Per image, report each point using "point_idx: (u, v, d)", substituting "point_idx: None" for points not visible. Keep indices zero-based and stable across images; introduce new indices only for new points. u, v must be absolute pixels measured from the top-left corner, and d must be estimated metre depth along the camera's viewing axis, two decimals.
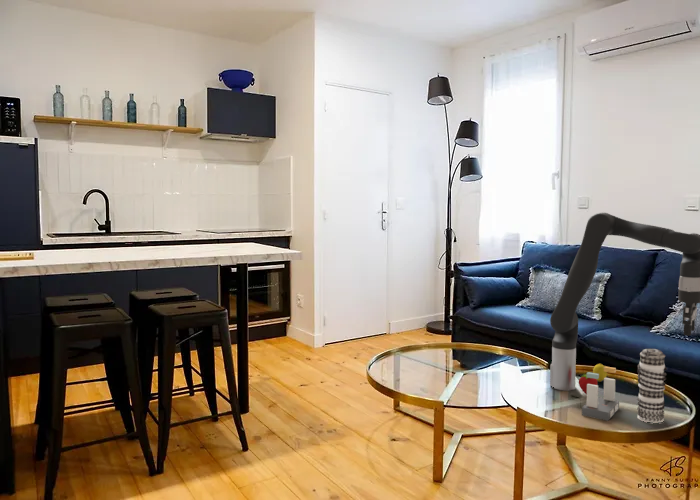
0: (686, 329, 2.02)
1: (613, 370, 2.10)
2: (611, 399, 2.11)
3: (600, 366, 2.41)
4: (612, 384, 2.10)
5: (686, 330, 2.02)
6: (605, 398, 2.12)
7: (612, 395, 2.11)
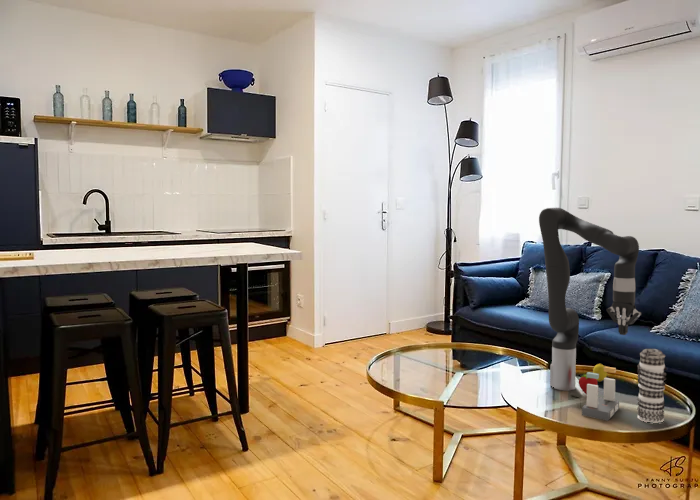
0: (626, 329, 2.13)
1: (613, 370, 2.10)
2: (611, 399, 2.11)
3: (600, 366, 2.41)
4: (612, 384, 2.10)
5: (626, 330, 2.13)
6: (605, 398, 2.12)
7: (612, 395, 2.11)
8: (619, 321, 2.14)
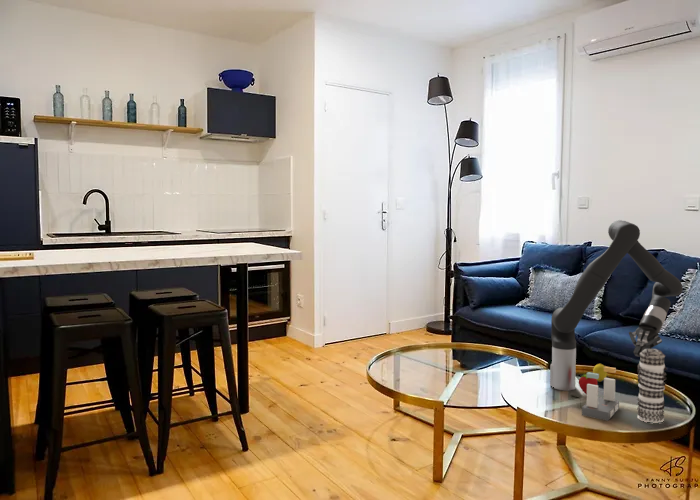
0: (642, 350, 2.20)
1: (613, 370, 2.10)
2: (611, 399, 2.11)
3: (600, 366, 2.41)
4: (612, 384, 2.10)
5: (641, 351, 2.20)
6: (605, 398, 2.12)
7: (612, 395, 2.11)
8: (638, 342, 2.23)
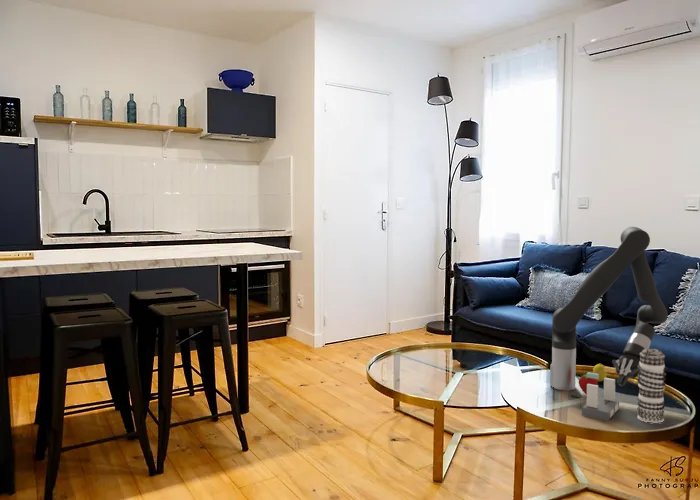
0: (625, 380, 2.14)
1: (613, 370, 2.10)
2: (611, 399, 2.11)
3: (600, 366, 2.41)
4: (612, 384, 2.10)
5: (625, 381, 2.14)
6: (605, 398, 2.12)
7: (612, 395, 2.11)
8: (621, 371, 2.16)
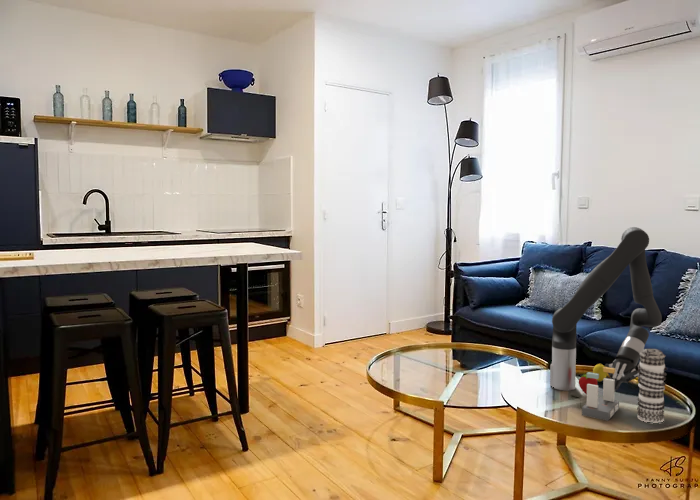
0: (618, 384, 2.11)
1: (613, 370, 2.09)
2: (611, 400, 2.11)
3: (600, 366, 2.41)
4: (612, 384, 2.10)
5: (618, 385, 2.11)
6: (604, 399, 2.12)
7: (612, 396, 2.10)
8: (614, 375, 2.14)
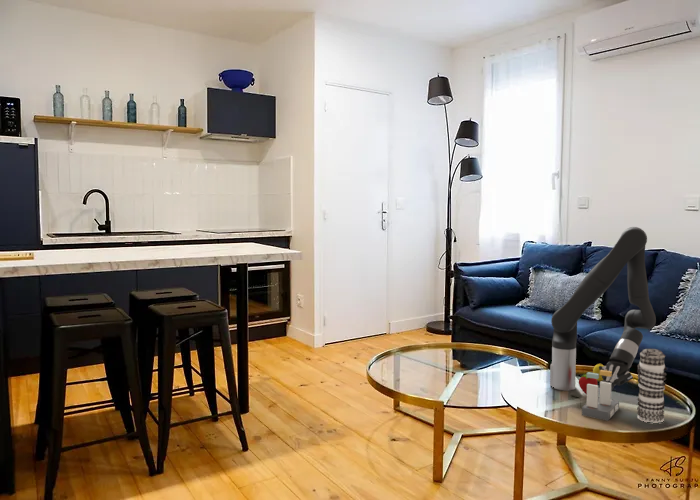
0: (612, 387, 2.09)
1: (609, 374, 2.06)
2: (607, 403, 2.07)
3: None
4: (608, 388, 2.06)
5: (611, 388, 2.09)
6: (601, 402, 2.08)
7: (608, 399, 2.07)
8: (608, 378, 2.11)
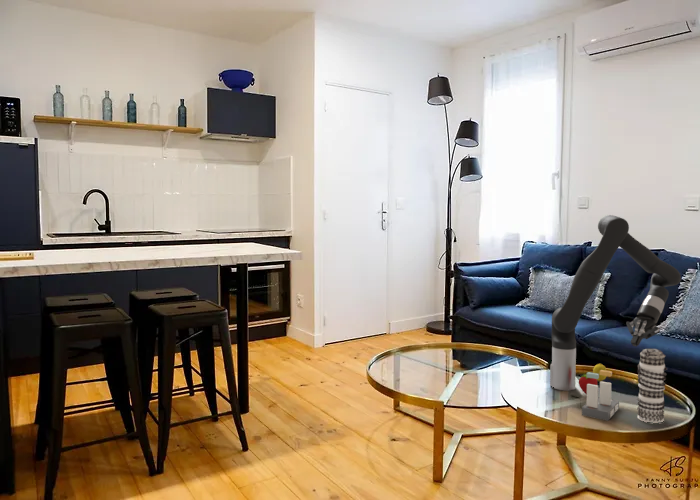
0: (639, 340, 2.18)
1: (609, 374, 2.06)
2: (607, 403, 2.07)
3: (600, 366, 2.41)
4: (608, 388, 2.06)
5: (639, 341, 2.18)
6: (601, 402, 2.08)
7: (608, 399, 2.07)
8: (635, 332, 2.21)
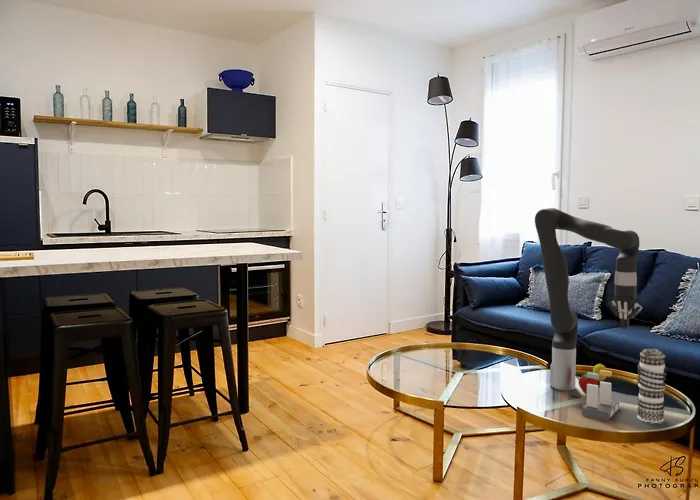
0: (627, 323, 2.15)
1: (609, 374, 2.06)
2: (607, 403, 2.07)
3: (600, 366, 2.41)
4: (608, 388, 2.06)
5: (627, 324, 2.15)
6: (601, 402, 2.08)
7: (608, 399, 2.07)
8: (621, 315, 2.15)
